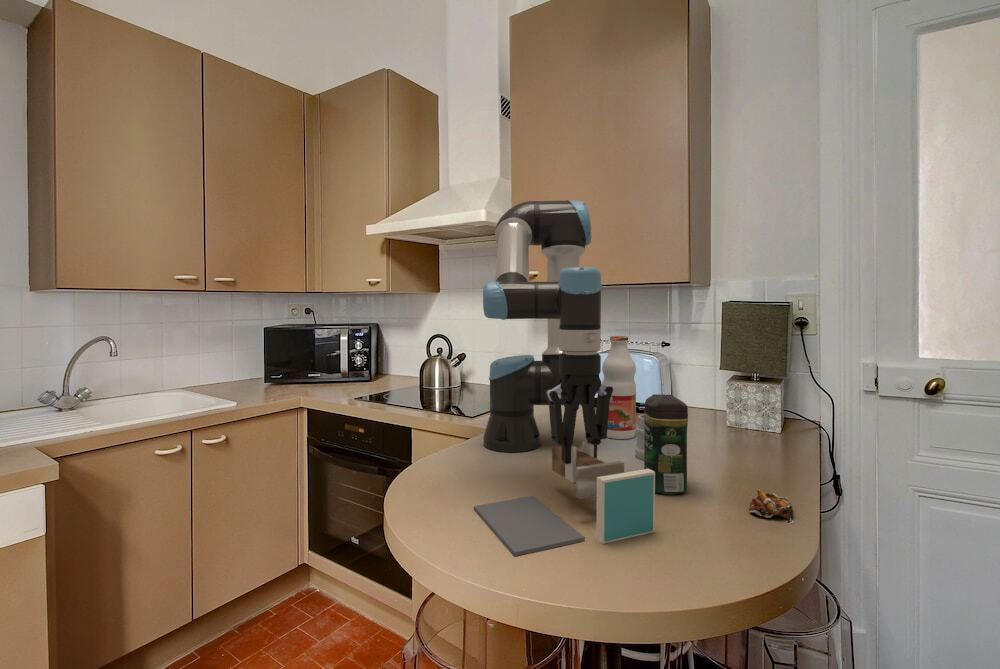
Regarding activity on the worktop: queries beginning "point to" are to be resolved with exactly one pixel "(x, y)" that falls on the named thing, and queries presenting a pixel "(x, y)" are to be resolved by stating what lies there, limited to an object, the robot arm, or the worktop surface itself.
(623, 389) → the fruit juice
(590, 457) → the scraper
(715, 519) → the worktop surface
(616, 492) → the tile
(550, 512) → the mat
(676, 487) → the coffee jar
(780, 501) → the pastry
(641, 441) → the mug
